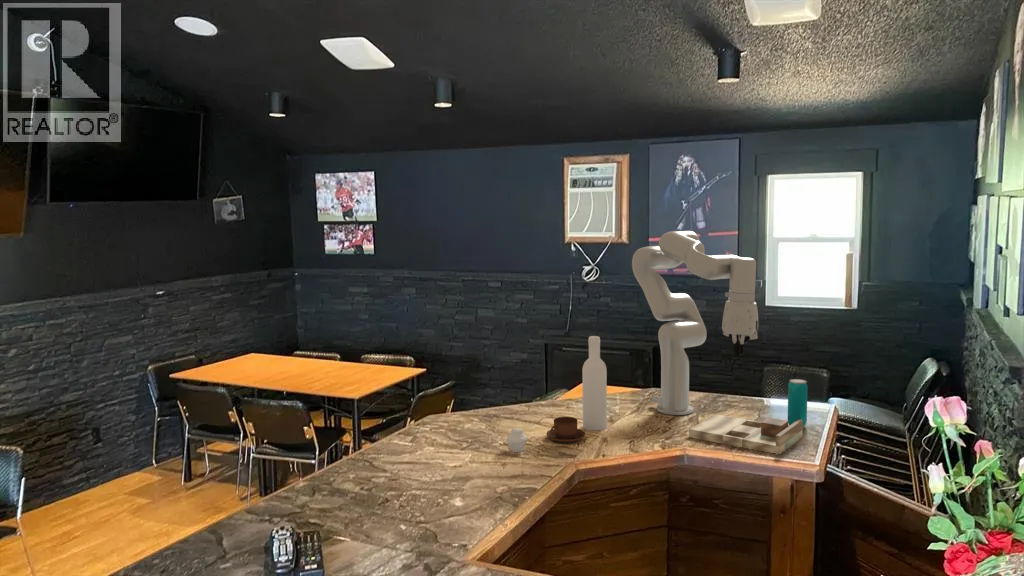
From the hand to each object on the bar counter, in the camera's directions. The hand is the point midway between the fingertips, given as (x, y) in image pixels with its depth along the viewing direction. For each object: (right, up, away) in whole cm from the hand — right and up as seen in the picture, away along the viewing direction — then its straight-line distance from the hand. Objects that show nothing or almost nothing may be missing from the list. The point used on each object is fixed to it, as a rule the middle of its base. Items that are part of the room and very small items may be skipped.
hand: (739, 355), depth 224 cm
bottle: (-44, -25, +11) cm, 51 cm away
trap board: (+1, -25, -2) cm, 25 cm away
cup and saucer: (-54, -26, 0) cm, 60 cm away
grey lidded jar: (-69, -27, -11) cm, 75 cm away
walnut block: (+8, -23, -8) cm, 26 cm away
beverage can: (+21, -24, +8) cm, 33 cm away
